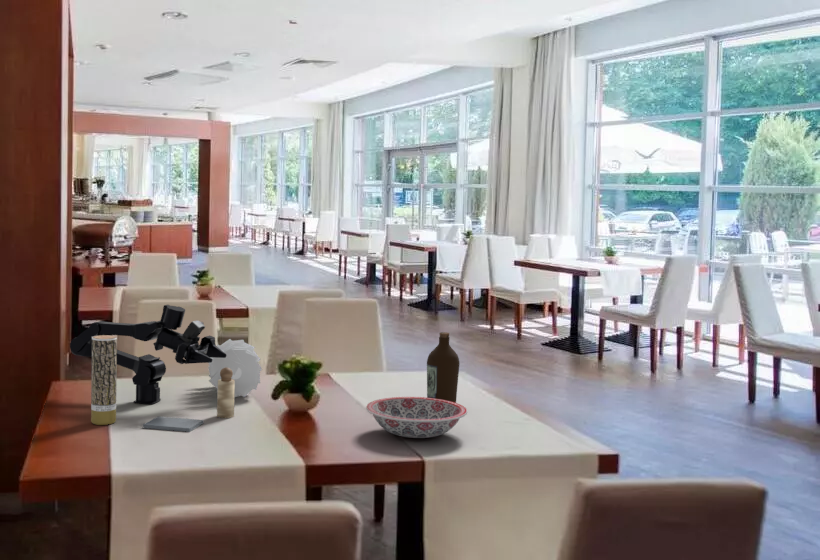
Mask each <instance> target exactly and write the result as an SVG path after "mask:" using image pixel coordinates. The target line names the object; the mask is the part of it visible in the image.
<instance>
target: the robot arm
mask: <svg viewBox="0 0 820 560" xmlns="http://www.w3.org/2000/svg"><path fill="white" fill-rule="evenodd" d="M185 313H186V309H185V308H184V307H182V306H176V305H170V304H165V305H163V308H162V314H161V318H160V320H158V321H157V320H156V321H155V320H154V321H153V320H152V321H145V322H138V323H127V322H112V321H111V322H110V321H104V320H100V321H95V322H92V323H91V324H90V325H89V326H88V328H86V329H85V330H83V331H82V332H81V333H79V334H78V335H77V337H74V338H72V339H71V340H70V343H69V348H70V351H71V353H72V354H73V355H75V356H80V357H90V358H92V337H93V336H100V335H111V336H122V337H124V336H125V337H130V338H133V339H135V340H139V341H141V342H149V341H152V340H156V341H155V342H153V343H152V345H153V346H154V350H155V351H161V350H163V349H164V348H166V349H169V350H172V353H174V354H175V357H174V360H175V361H176V363H178V364H180V365H183V364H185V365H188V364H189V365H190V364H209V363H211V362H212V360H213V359H212V358H210V357H213V358H226V354H225V353H224V352H223V351H222V350H221V349H219V348H218V347H217V344H216V338H215V336H212V335H206V336H203V337H202V338H201V337H200V334H201V333H202V331H203V330H205V328H206V326H205V324H204V322H203V321H201V320H198V319H196V320H193V321H191V322H190V323H189V325H187V327H186V329H185V331H184V332H183V333H181V332H178V331H177V330H178V329H179V328H181V327H182V325H183V320H184V317H185ZM200 338H201V340H200ZM199 341H200V343H199ZM117 366H120V367H122V368H126V369H128V370H130V371H131V370H132V372H133V373H134V374H135V375H134V376H133V377H132V378H131V379H132V383H133V385H135V400H134V401H133V403H134V404H144V405H145V404H146V405H154V404H156V403H157V402H160V401H161V400H162V398H161V393H160V392H161V387H159V385H160V384H159V382H161V381H162V378H163V376H164V375H165V374H166V371H167V366H166V364H165V362H164V361H163V360H162V359H161V357H159V356H158V357H156V356H154V355H152V354H150V353H148V354H144V355H142V356H136V355H135V354H131V353H129V352H125V351H122V350H119V349H117Z"/></svg>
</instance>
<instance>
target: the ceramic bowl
mask: <svg viewBox="0 0 820 560" xmlns="http://www.w3.org/2000/svg"><path fill="white" fill-rule="evenodd" d="M365 410H366V411H367V412H368V413H370V414H371V415H373V418H374V419H375V421H376V423H377V424H378V425H379V426H380V427H381V428H382V429H384V430H385V431H386V432H388V433H390V434H393V435H396V436H399V437H403V438H413V439H425V438H427V439H428V438H434V437H439V436H441V435H444V434H447V432H449V431H451V430H452V429H453V428H454V427H455V426H456V425H457V423H458V422H459V421H460V419H461V418H464V417H465V416H466V415H468V409H467V408H466V407H465V406H464V405H462V404H460V403H457V402H456V403H455V402H451V401H447V400H442V399H435V398H427V396H426V397H425V396H423V397H421V396H394V397H393V396H392V397H384V398H381V399H380V398H379V399H376V400H373V401H371V402H368V403H367V405H366V406H365Z"/></svg>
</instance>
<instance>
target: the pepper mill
mask: <svg viewBox="0 0 820 560" xmlns="http://www.w3.org/2000/svg"><path fill="white" fill-rule="evenodd" d="M232 375H233V372H232V370H231V369H230V368H228V367H225V368H223V369H222V370H221V371H220V376H221V379H220V380H218V393H217V395H216V396H217V399H216V400H217V402H216V407H217V408H216V417H217V418H218V417H220V418H219V419H232V418H234V417H235V397H234V389H235V380H233V379H231V377H232ZM231 417H232V418H231Z"/></svg>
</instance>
